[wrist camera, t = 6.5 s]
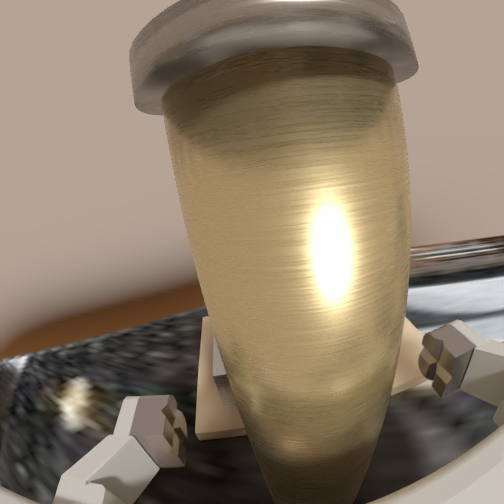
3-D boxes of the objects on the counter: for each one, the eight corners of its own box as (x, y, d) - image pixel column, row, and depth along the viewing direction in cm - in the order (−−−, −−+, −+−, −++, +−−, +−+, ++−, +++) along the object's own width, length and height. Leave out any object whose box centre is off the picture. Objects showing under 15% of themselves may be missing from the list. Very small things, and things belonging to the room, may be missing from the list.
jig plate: (368, 289, 33) (368, 281, 32) (445, 370, 18) (448, 362, 17) (205, 324, 32) (202, 317, 32) (199, 440, 17) (195, 433, 17)
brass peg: (348, 447, 14) (341, 73, 8) (376, 516, 9) (464, 12, 2) (260, 468, 14) (161, 95, 7) (273, 543, 9) (75, 17, 2)
